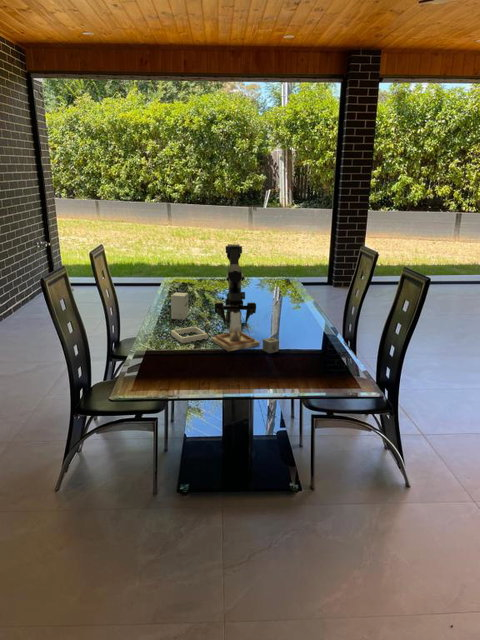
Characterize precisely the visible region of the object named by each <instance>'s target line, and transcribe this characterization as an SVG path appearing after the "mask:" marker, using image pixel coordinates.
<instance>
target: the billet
mask: <svg viewBox="0 0 480 640" xmlns="http://www.w3.org/2000/svg"><path fill="white" fill-rule="evenodd" d="M241 320H242V310H240V311H230V322H229V333H230V341H234V342H237V341H240V340H241V332H242V321H241Z"/></svg>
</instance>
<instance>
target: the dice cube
mask: <svg viewBox="0 0 480 640" xmlns="http://www.w3.org/2000/svg"><path fill="white" fill-rule="evenodd" d="M279 350H280V340H279V339H277V338H275V337H268V338H267V337H266V338H263V339H262V351H264V352H266V353H268V354H273V353H277V352H279Z"/></svg>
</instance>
